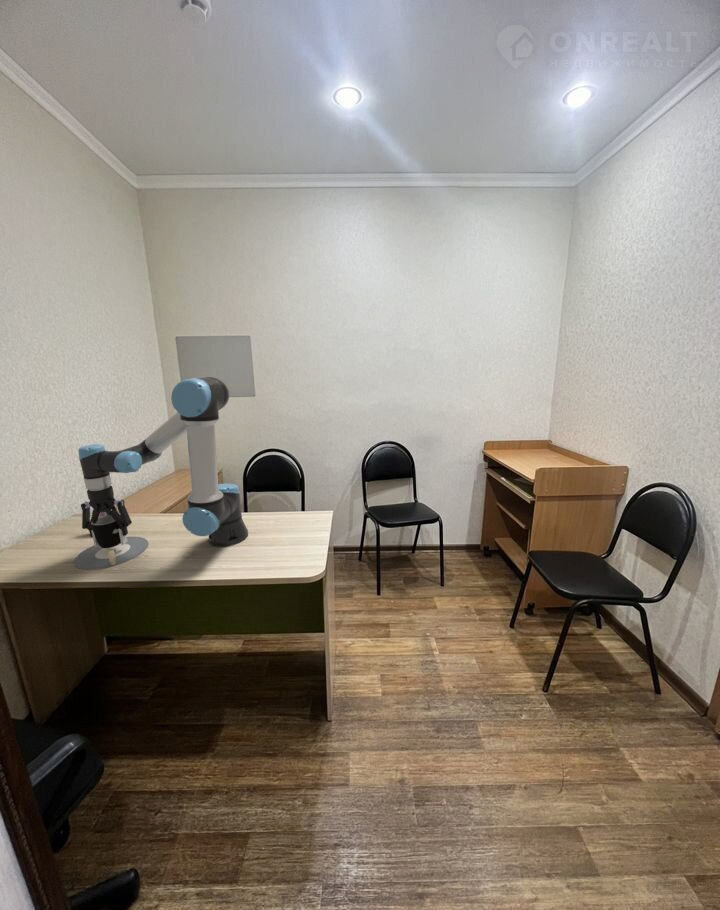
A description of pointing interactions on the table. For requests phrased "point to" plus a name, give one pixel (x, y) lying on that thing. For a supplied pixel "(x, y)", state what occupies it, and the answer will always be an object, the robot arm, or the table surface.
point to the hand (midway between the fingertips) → (111, 543)
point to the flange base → (104, 563)
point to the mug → (106, 532)
